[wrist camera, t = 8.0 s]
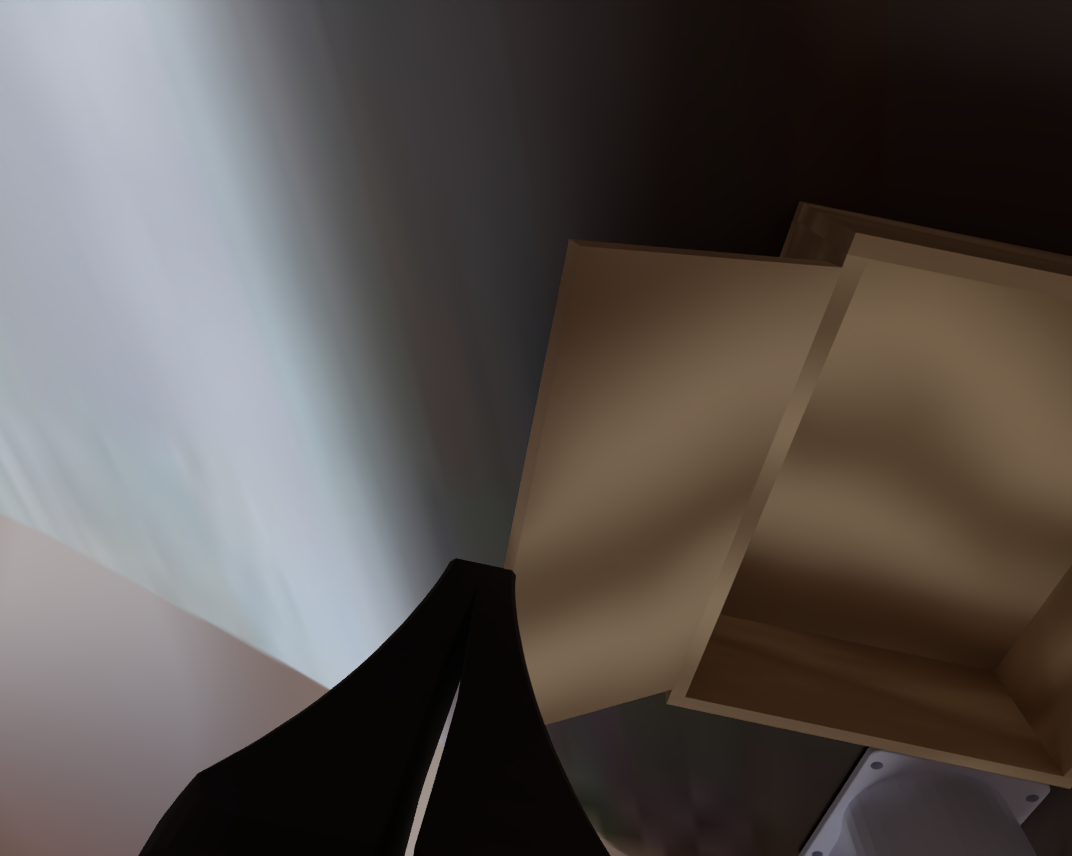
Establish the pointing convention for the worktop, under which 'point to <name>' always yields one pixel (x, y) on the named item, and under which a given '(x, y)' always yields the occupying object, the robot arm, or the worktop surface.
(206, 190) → the worktop surface
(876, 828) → the robot arm
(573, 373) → the carton flap
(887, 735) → the carton
